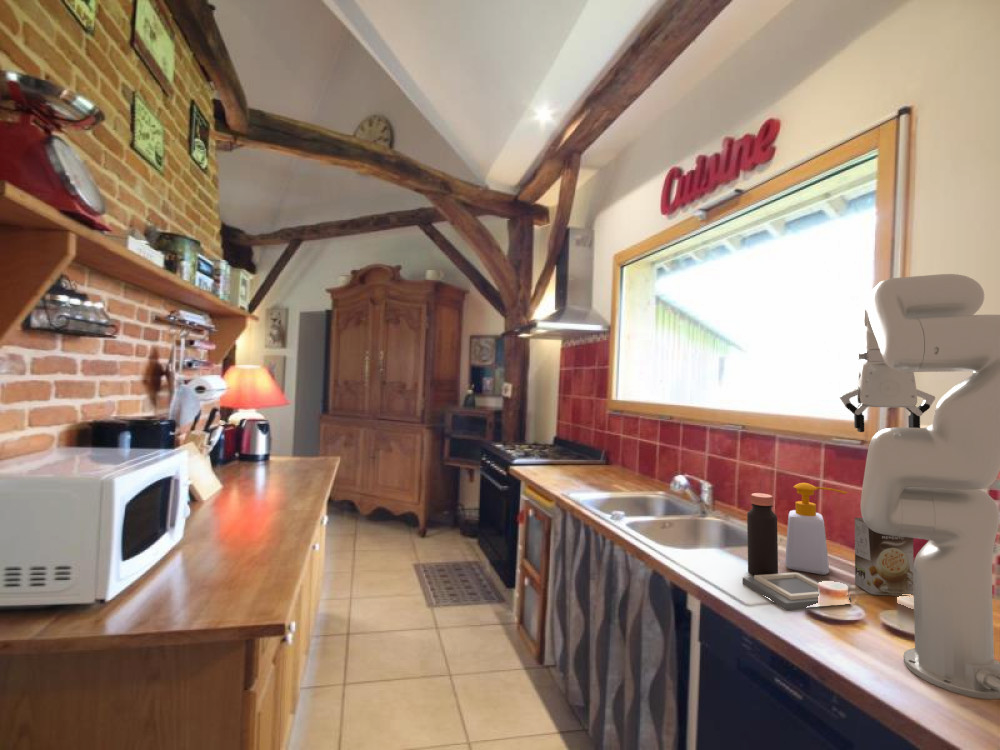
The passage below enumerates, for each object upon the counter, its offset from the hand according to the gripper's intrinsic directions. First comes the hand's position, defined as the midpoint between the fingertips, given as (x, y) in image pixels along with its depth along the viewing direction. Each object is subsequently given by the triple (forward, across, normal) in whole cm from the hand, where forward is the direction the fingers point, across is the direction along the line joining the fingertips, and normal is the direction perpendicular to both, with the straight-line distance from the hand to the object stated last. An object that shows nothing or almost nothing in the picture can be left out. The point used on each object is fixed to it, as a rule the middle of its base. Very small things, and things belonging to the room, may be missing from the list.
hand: (886, 432), depth 109 cm
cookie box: (+38, 0, +3) cm, 38 cm away
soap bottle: (+38, -12, +12) cm, 41 cm away
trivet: (+37, -20, -7) cm, 43 cm away
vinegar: (+38, -25, +3) cm, 45 cm away
